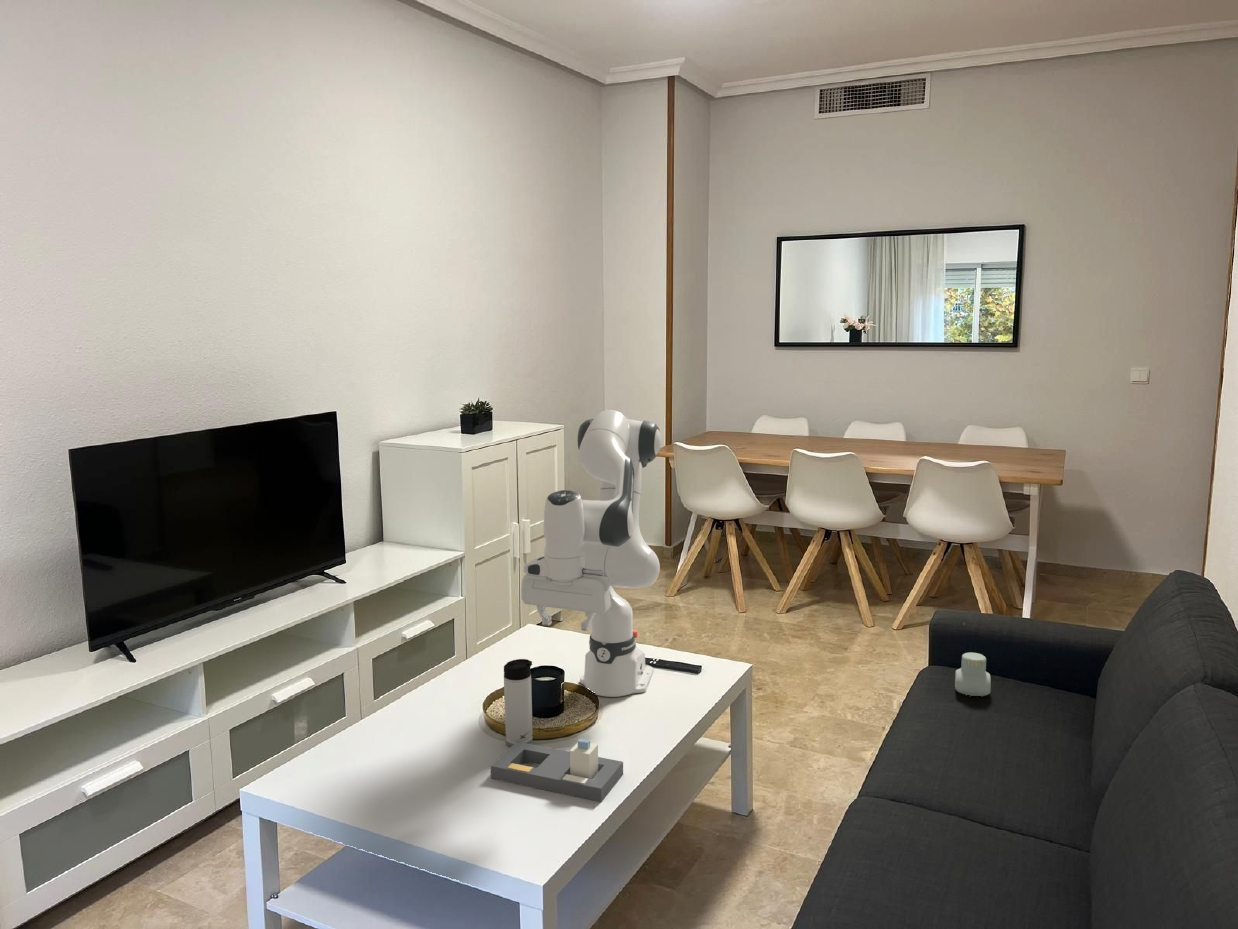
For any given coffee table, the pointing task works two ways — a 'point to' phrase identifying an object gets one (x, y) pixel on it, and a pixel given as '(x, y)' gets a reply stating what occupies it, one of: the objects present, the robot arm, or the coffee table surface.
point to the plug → (584, 759)
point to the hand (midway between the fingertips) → (566, 627)
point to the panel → (554, 772)
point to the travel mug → (518, 702)
